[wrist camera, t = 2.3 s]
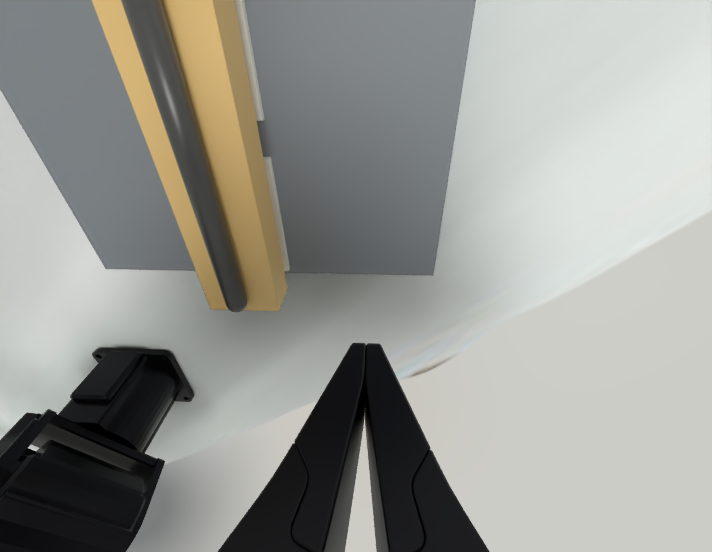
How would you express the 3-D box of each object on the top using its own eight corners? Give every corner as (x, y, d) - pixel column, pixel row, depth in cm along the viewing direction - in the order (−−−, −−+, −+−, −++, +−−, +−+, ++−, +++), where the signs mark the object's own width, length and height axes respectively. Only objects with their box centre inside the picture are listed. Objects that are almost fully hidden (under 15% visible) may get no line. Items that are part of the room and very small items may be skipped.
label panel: (430, 263, 19) (435, 287, 17) (118, 258, 20) (92, 279, 19) (515, -326, 8) (554, -433, 6) (-167, -265, 9) (-299, -341, 8)
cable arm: (288, 287, 18) (274, 325, 15) (225, 285, 18) (201, 323, 15) (155, -448, 6) (21, -742, 4) (-9, -429, 7) (-230, -700, 4)
